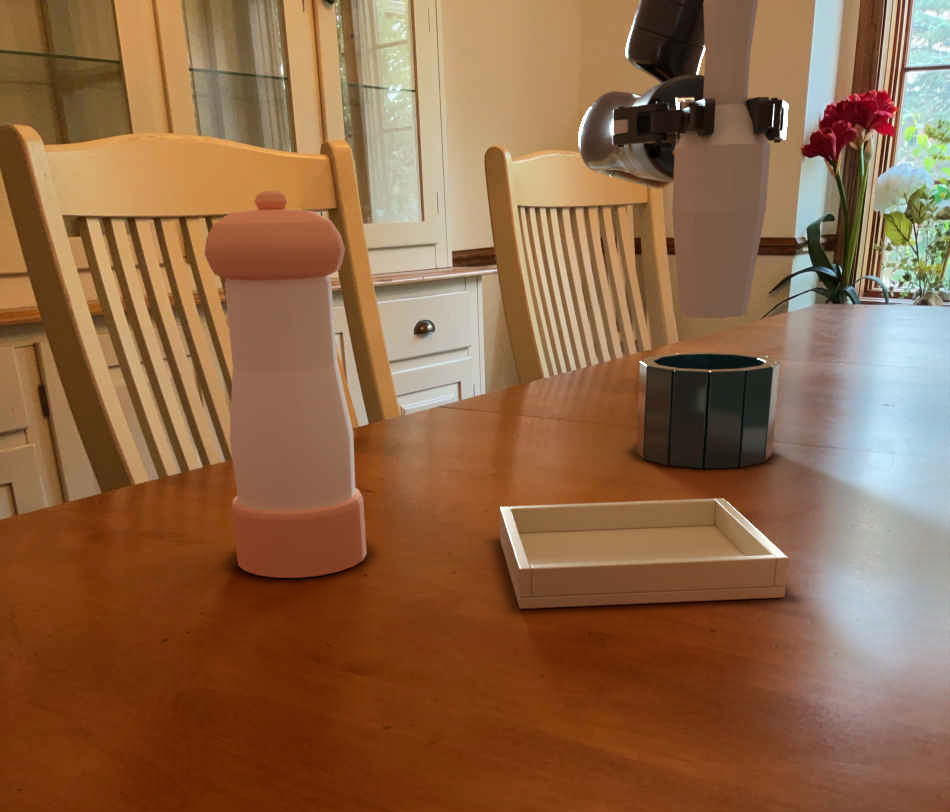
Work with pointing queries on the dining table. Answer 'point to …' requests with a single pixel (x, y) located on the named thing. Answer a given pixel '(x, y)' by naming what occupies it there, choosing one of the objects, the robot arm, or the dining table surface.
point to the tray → (637, 554)
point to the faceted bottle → (721, 176)
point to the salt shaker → (287, 393)
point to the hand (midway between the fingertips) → (736, 115)
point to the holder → (707, 409)
